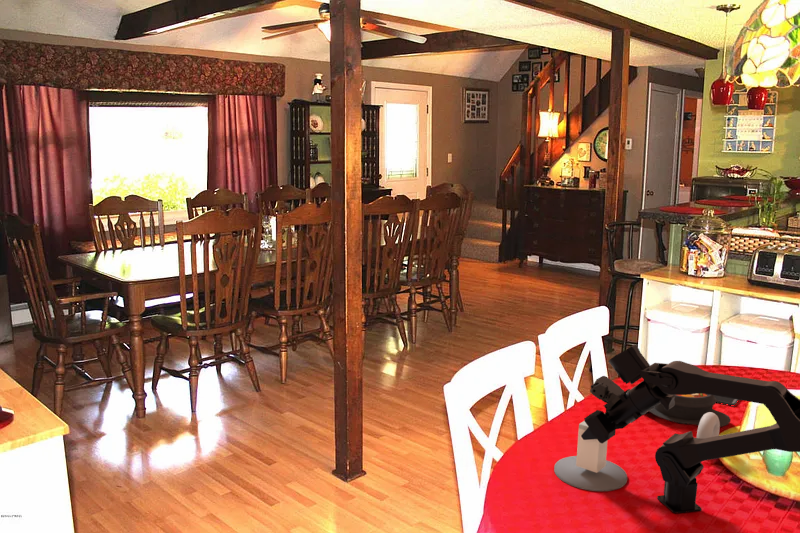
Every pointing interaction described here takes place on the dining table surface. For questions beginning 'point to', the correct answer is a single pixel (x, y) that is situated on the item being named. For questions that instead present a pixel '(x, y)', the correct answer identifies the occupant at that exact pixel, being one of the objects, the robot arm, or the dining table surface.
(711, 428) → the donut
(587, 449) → the card box
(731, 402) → the phone
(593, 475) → the mat
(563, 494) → the dining table surface
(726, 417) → the casserole
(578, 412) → the dining table surface
